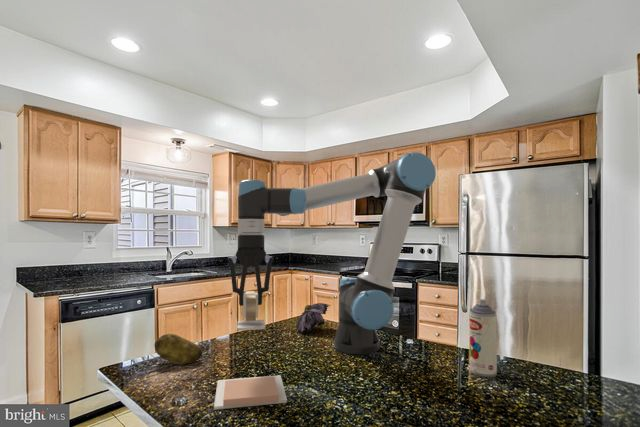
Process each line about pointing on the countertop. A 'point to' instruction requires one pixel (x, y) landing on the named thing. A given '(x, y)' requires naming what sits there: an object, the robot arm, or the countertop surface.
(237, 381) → the tile
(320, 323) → the decorative flower
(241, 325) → the scraper
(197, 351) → the potato
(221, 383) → the mat
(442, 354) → the countertop surface
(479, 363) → the aerosol can
